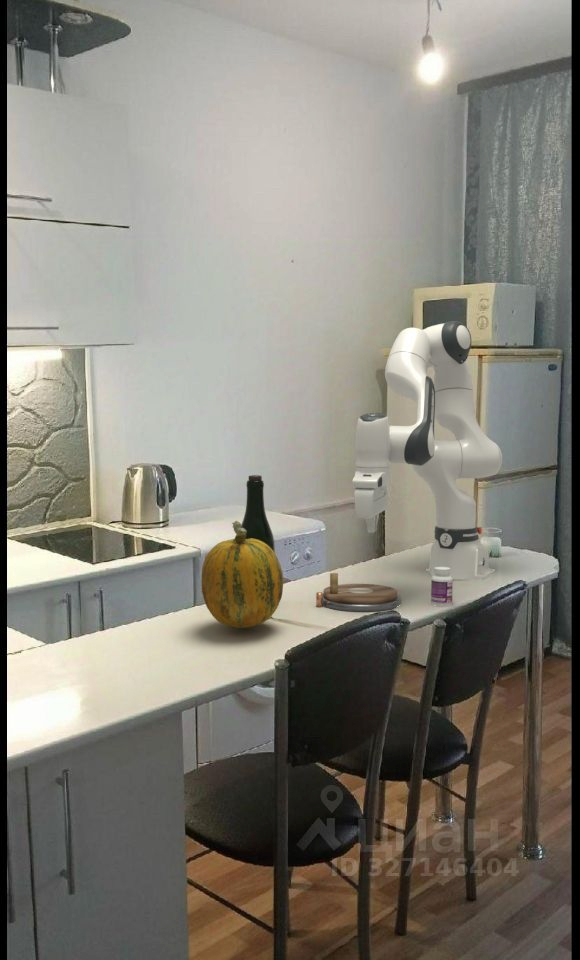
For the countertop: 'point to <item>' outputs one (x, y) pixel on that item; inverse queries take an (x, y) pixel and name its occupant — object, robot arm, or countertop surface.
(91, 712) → the countertop surface
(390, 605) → the turntable base
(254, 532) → the wine bottle
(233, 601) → the pumpkin
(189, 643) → the countertop surface
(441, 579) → the pill bottle
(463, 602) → the countertop surface
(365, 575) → the countertop surface
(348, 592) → the turntable
